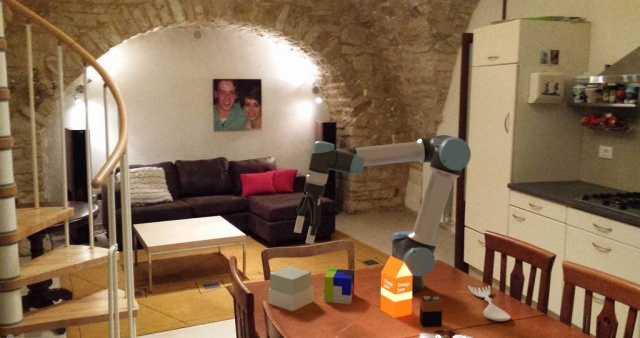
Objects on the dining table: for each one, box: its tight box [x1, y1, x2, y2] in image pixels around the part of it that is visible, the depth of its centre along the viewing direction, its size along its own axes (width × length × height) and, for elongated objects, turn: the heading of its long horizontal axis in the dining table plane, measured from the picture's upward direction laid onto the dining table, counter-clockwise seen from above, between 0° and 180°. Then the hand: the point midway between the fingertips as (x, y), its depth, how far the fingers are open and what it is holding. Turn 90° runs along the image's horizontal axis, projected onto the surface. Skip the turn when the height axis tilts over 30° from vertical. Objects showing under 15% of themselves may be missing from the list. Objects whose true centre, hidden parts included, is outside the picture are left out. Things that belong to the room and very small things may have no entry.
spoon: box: [467, 285, 511, 322], centre depth 202 cm, size 9×32×4 cm, turn 177°
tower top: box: [269, 265, 312, 295], centre depth 206 cm, size 11×11×6 cm
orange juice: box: [380, 255, 413, 319], centre depth 197 cm, size 8×9×20 cm
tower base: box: [267, 286, 314, 312], centre depth 207 cm, size 12×12×6 cm
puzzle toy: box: [323, 268, 355, 305], centre depth 211 cm, size 10×10×10 cm
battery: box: [419, 295, 443, 328], centre depth 186 cm, size 4×7×10 cm, turn 94°
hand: (303, 237), depth 203 cm, fingers open, 13 cm apart
